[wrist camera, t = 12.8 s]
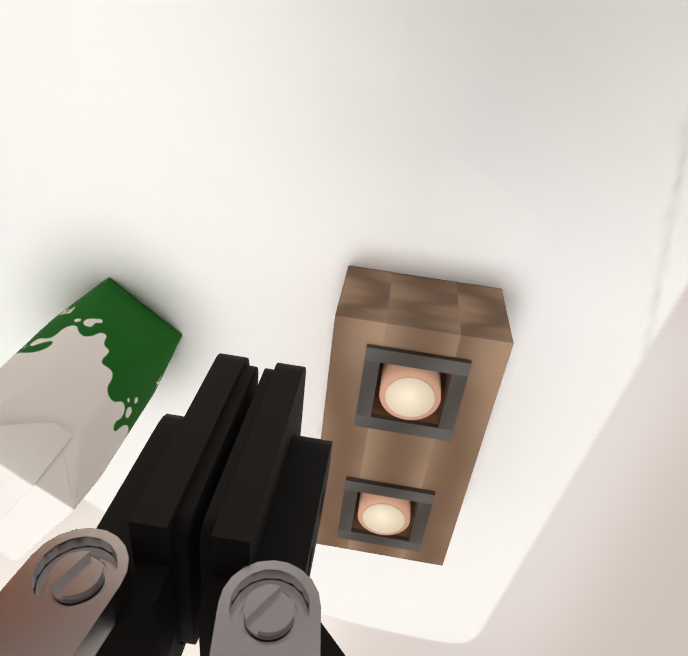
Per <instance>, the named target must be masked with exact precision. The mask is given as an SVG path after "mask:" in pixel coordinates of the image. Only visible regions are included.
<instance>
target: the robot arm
mask: <svg viewBox="0 0 688 656" xmlns="http://www.w3.org/2000/svg"><path fill="white" fill-rule="evenodd" d="M305 377H306V368H305V367H302V366H295V365H289V364H283V363H277V364H276V366H275V369H274V370H273V369H267V368H266V369H265V370H264V372H263V374H262V377H261V379H260V382H259V384H258V367H255V366H249V359H248V358H246V357H240V356H233V355H227V354H221V353H220V354H218V356H217V357H216V359H215V361H214V363H213V364H212V366H211V368H210V370H209V372H208V374H207V376H206V377H205V379H204V381H203V383H202V385H201V387H200V389H199V390H198V392H197V394H196V396H195V398H194V400H193V402H192V403H191V405H190V407H189V409H188V411H187V413H186V415H185V416H184V417H183V416H178V415H172V414H166V415H164V416H163V417H162V419H161V420H160V421H159V423H158V425H157V426H156V428H155V430H154V431H153V433H152V435H151V436H150V438H149V440H148V442H147V443H146V445H145V447H144V448H143V450H142V452H141V453H140V455H139V457H138V459H137V460H136V462H135V464H134V465H133V467H132V469H131V470H130V472H129V474H128V476H127V477H126V479H125V481H124V482H123V484H122V486H121V487H120V489H119V491H118V493H117V494H116V496H115V498H114V499H113V501H112V503H111V504H110V506H109V508H108V509H107V511H106V513H105V515H104V516H103V518H102V520H101V522H100V523H99V525H98V526H97V528H96V529H94V528H86V529H75V530H72V531H70V532H66V533H63V534H60V535H58V536H56V537H55V538H53V539H51V540H49V541H48V542H46V543H45V544H43V545H42V546H41V547H40V548H39V549H38V550H37V551H36V552H35V553H33V554H32V555H31V556H30V558H29V559H28V560H27V561H26V562H25V564H24V565H23V566H22V567H21V568H20V569H19V570H18V572H17V573H16V574H15V575H14V576H13V577H12V578H11V580H10V581H9V582H8V583H7V584H6V585H5V587H4V588H3V589H2V590H1V591H0V656H181V655H182V652H183V650H184V647H185V644H186V643H189V644H196V643H197V641H198V639H199V643H200V656H345V655H344V653H343V652H342V650H341V649H340V648H339V646H338V645H337V644H336V642H335V641H334V639H333V638H332V637H331V635H330V634H329V633H328V631H327V630H326V629H325V627H324V626H323V625H322V623H321V605H320V598H319V592H318V590H317V589H316V587H315V585H314V583H313V581H312V579H311V578H310V572H311V567H312V562H313V557H314V551H315V546H316V541H317V536H318V531H319V526H320V521H321V516H322V510H323V505H324V499H325V494H326V488H327V481H328V475H329V468H330V460H331V452H332V443H333V442H332V441H327V440H321V439H315V438H309V437H303V436H300V433H301V422H302V411H303V399H304V388H305Z"/></svg>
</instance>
